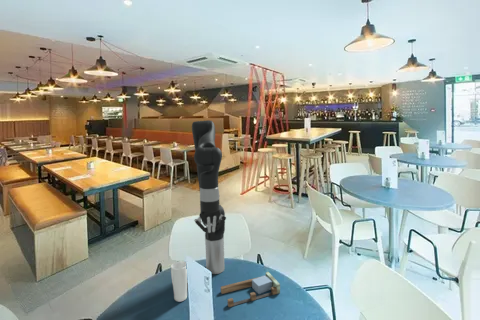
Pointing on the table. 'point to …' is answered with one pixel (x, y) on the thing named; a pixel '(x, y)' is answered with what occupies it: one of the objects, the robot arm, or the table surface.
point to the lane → (248, 283)
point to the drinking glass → (179, 280)
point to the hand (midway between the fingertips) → (211, 240)
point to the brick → (261, 284)
